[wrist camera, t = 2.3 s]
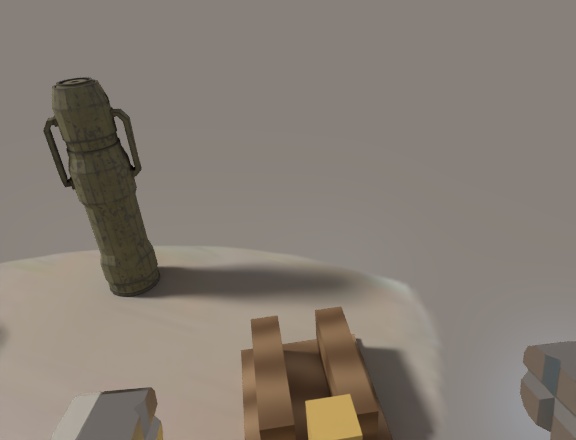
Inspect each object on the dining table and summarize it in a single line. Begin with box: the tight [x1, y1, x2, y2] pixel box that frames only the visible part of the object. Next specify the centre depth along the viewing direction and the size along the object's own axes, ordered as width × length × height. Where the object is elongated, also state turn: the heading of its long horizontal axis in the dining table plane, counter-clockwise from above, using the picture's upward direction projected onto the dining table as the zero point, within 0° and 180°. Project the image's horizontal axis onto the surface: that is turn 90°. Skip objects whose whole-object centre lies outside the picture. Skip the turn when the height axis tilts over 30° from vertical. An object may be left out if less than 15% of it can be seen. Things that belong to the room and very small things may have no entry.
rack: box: [241, 307, 393, 440], centre depth 51 cm, size 18×16×7 cm
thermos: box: [44, 77, 160, 297], centre depth 69 cm, size 9×12×35 cm
